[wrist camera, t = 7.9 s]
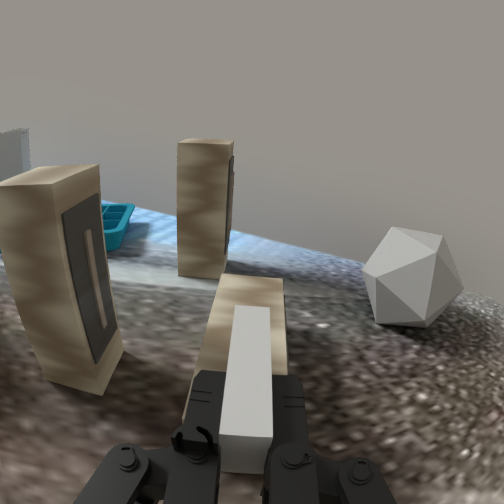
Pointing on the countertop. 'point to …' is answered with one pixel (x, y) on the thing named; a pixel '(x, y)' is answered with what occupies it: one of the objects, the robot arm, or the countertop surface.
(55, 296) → the post
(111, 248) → the ice cube tray
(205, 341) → the post
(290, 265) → the countertop surface
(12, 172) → the skincare box
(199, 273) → the post
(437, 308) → the die
